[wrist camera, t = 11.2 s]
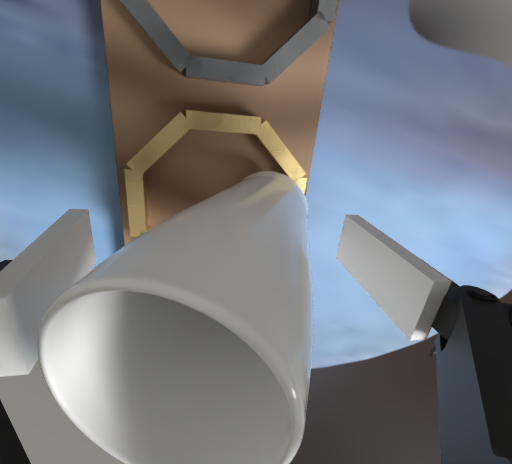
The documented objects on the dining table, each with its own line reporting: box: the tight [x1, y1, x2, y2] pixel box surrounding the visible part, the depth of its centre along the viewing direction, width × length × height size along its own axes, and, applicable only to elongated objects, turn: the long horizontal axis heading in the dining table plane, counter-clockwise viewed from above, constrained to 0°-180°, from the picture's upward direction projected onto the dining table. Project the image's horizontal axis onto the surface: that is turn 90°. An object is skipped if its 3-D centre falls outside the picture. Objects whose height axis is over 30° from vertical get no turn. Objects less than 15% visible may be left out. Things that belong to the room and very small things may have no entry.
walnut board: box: [101, 0, 339, 245], centre depth 18 cm, size 26×13×1 cm, turn 174°
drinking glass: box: [37, 171, 314, 464], centre depth 13 cm, size 7×7×15 cm
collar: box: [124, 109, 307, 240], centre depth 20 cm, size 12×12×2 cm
